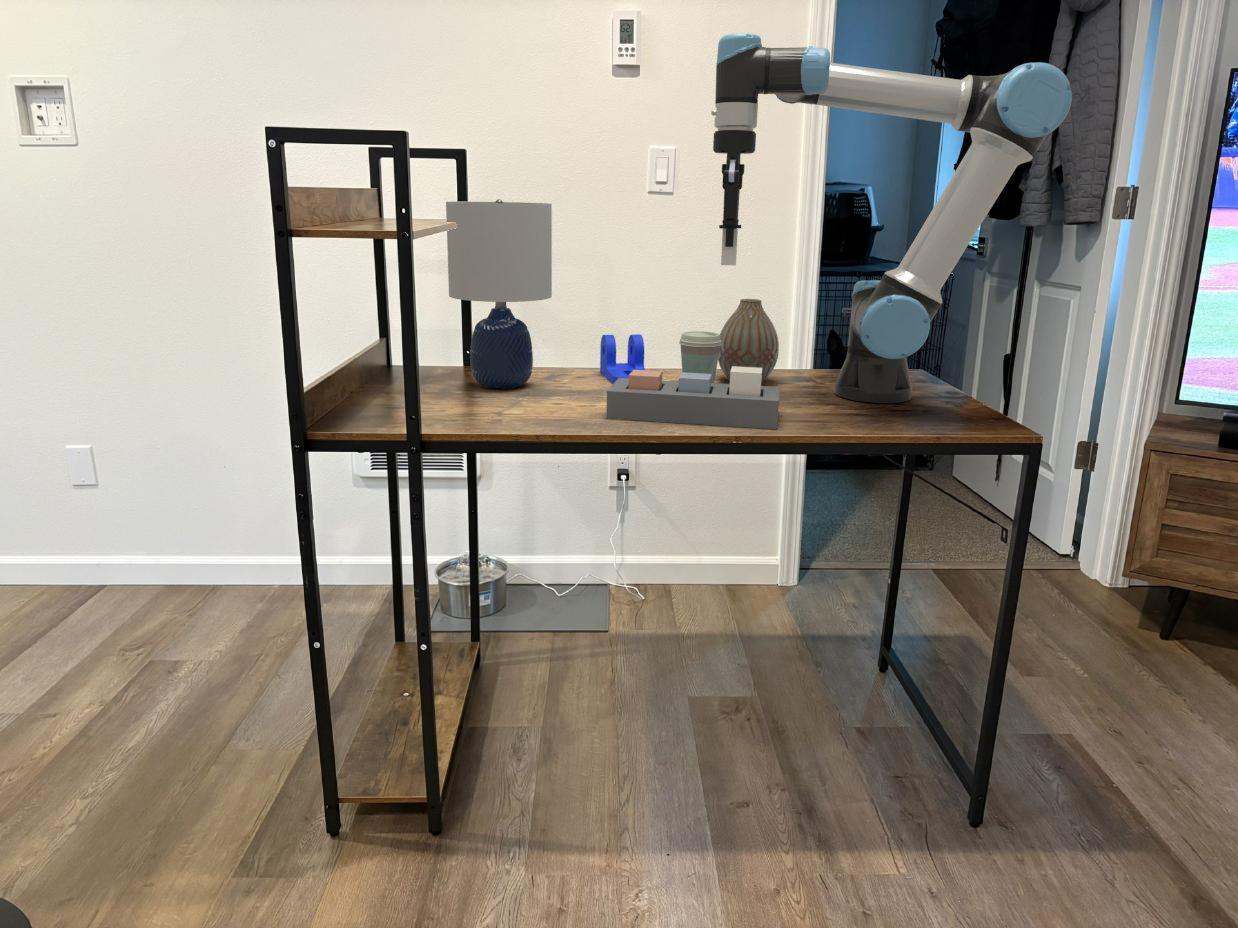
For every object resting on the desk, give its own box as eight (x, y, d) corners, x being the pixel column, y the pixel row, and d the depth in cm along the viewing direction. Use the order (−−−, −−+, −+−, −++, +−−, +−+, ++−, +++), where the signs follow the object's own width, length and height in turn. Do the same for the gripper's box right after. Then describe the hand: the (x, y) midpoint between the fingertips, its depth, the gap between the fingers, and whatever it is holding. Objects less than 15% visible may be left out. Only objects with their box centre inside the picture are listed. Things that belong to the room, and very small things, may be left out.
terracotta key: (661, 394, 167) (662, 371, 166) (657, 401, 162) (658, 376, 161) (632, 393, 168) (633, 369, 167) (628, 399, 163) (628, 375, 162)
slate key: (710, 397, 166) (711, 374, 165) (708, 404, 161) (709, 379, 160) (681, 395, 167) (682, 372, 166) (677, 402, 162) (678, 378, 161)
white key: (760, 391, 164) (762, 367, 163) (759, 398, 159) (761, 373, 158) (730, 390, 165) (732, 366, 164) (728, 396, 160) (730, 371, 159)
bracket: (600, 372, 203) (600, 332, 200) (636, 372, 205) (637, 332, 202) (617, 389, 186) (618, 346, 184) (656, 388, 188) (657, 345, 185)
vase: (774, 376, 202) (780, 297, 197) (778, 388, 190) (784, 304, 185) (715, 374, 203) (719, 295, 198) (715, 386, 191) (719, 302, 186)
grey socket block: (777, 413, 168) (779, 387, 167) (776, 429, 157) (778, 401, 155) (618, 403, 173) (618, 378, 171) (606, 418, 162) (606, 391, 160)
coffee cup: (717, 398, 179) (720, 338, 176) (674, 396, 181) (676, 336, 177) (721, 390, 187) (724, 332, 184) (680, 387, 189) (682, 329, 185)
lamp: (503, 401, 173) (500, 200, 162) (431, 386, 184) (423, 198, 174) (571, 385, 188) (572, 201, 178) (501, 372, 200) (498, 198, 189)
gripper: (716, 132, 168) (710, 262, 175) (711, 127, 156) (705, 267, 163) (756, 132, 167) (749, 263, 174) (755, 127, 155) (747, 268, 162)
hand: (728, 264), depth 168 cm, fingers closed
